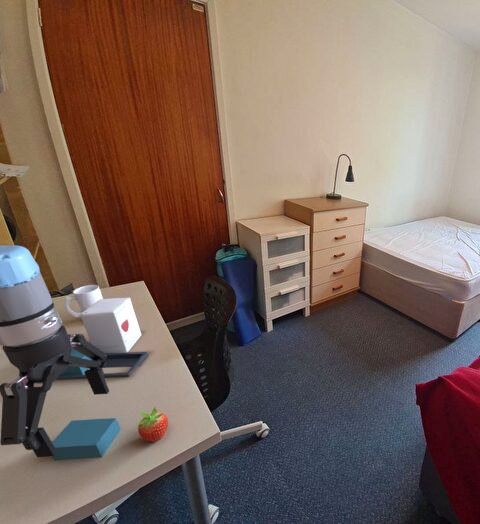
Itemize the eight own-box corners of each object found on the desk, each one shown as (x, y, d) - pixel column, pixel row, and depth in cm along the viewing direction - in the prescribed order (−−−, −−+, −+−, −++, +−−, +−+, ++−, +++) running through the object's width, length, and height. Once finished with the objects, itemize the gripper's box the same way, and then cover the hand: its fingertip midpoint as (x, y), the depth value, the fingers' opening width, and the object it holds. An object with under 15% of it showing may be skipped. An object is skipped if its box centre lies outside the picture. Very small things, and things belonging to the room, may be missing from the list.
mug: (108, 310, 107) (97, 282, 102) (110, 318, 102) (99, 289, 98) (72, 321, 100) (59, 291, 96) (73, 329, 96) (59, 299, 91)
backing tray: (36, 384, 75) (32, 378, 74) (64, 360, 83) (62, 354, 82) (130, 380, 77) (128, 374, 76) (149, 356, 85) (147, 351, 85)
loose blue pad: (56, 464, 57) (46, 448, 55) (79, 435, 62) (71, 420, 60) (103, 460, 58) (96, 444, 56) (122, 433, 63) (116, 417, 61)
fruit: (175, 426, 65) (168, 402, 62) (166, 449, 60) (157, 423, 57) (150, 429, 64) (141, 404, 61) (138, 452, 59) (127, 426, 56)
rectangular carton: (128, 353, 86) (113, 312, 80) (95, 356, 85) (77, 314, 79) (143, 335, 94) (130, 296, 88) (113, 337, 93) (98, 298, 87)
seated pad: (47, 378, 76) (40, 363, 74) (66, 362, 82) (59, 348, 80) (83, 376, 77) (77, 362, 75) (99, 360, 82) (94, 347, 80)
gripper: (-24, 392, 37) (41, 488, 45) (107, 297, 60) (135, 373, 68) (-88, 395, 36) (-10, 492, 45) (69, 298, 59) (102, 374, 68)
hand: (77, 420), depth 57 cm, fingers open, 13 cm apart
